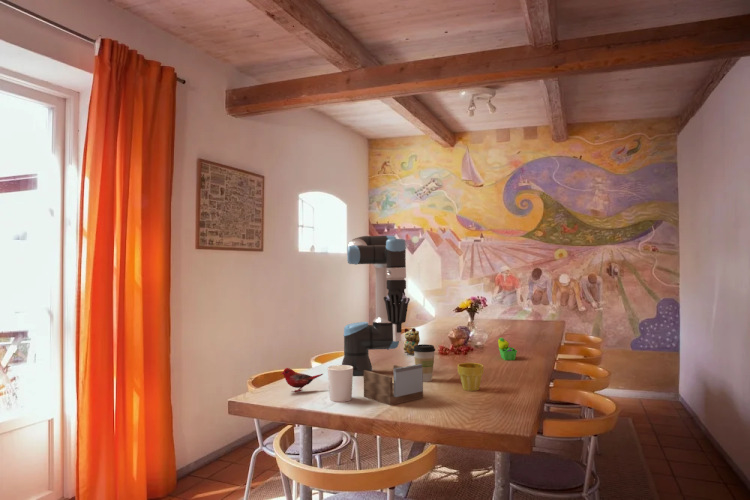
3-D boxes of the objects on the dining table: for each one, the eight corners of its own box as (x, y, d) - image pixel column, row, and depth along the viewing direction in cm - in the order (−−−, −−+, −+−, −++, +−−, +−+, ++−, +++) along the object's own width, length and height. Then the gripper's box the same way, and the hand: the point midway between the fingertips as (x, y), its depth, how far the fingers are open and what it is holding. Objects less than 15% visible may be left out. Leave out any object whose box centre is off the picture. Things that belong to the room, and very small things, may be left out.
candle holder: (327, 396, 201) (327, 365, 201) (353, 395, 202) (352, 364, 202) (327, 402, 191) (327, 370, 191) (354, 402, 192) (353, 369, 192)
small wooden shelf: (363, 396, 200) (363, 370, 200) (396, 389, 210) (395, 365, 210) (390, 405, 187) (389, 377, 187) (423, 397, 197) (422, 371, 197)
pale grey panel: (393, 396, 188) (393, 368, 188) (420, 390, 196) (420, 364, 196) (396, 397, 187) (395, 369, 187) (422, 391, 195) (422, 364, 195)
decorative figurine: (402, 355, 287) (402, 328, 288) (404, 352, 295) (404, 326, 296) (420, 355, 286) (419, 328, 286) (421, 353, 294) (420, 326, 294)
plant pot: (468, 393, 202) (468, 368, 203) (452, 388, 212) (452, 364, 212) (489, 390, 207) (488, 365, 208) (473, 385, 216) (472, 361, 217)
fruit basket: (517, 360, 269) (517, 339, 269) (500, 360, 269) (500, 339, 269) (512, 356, 280) (511, 335, 281) (496, 356, 281) (495, 336, 281)
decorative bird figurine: (280, 392, 207) (280, 367, 207) (322, 388, 214) (322, 364, 214) (281, 394, 204) (281, 369, 204) (324, 389, 211) (324, 365, 211)
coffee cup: (434, 383, 221) (434, 348, 221) (412, 382, 223) (411, 347, 223) (436, 378, 230) (436, 344, 231) (414, 377, 232) (414, 343, 233)
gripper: (377, 279, 200) (378, 340, 200) (399, 279, 190) (400, 343, 189) (392, 278, 205) (393, 338, 204) (414, 279, 195) (415, 341, 194)
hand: (396, 340), depth 197 cm, fingers closed
